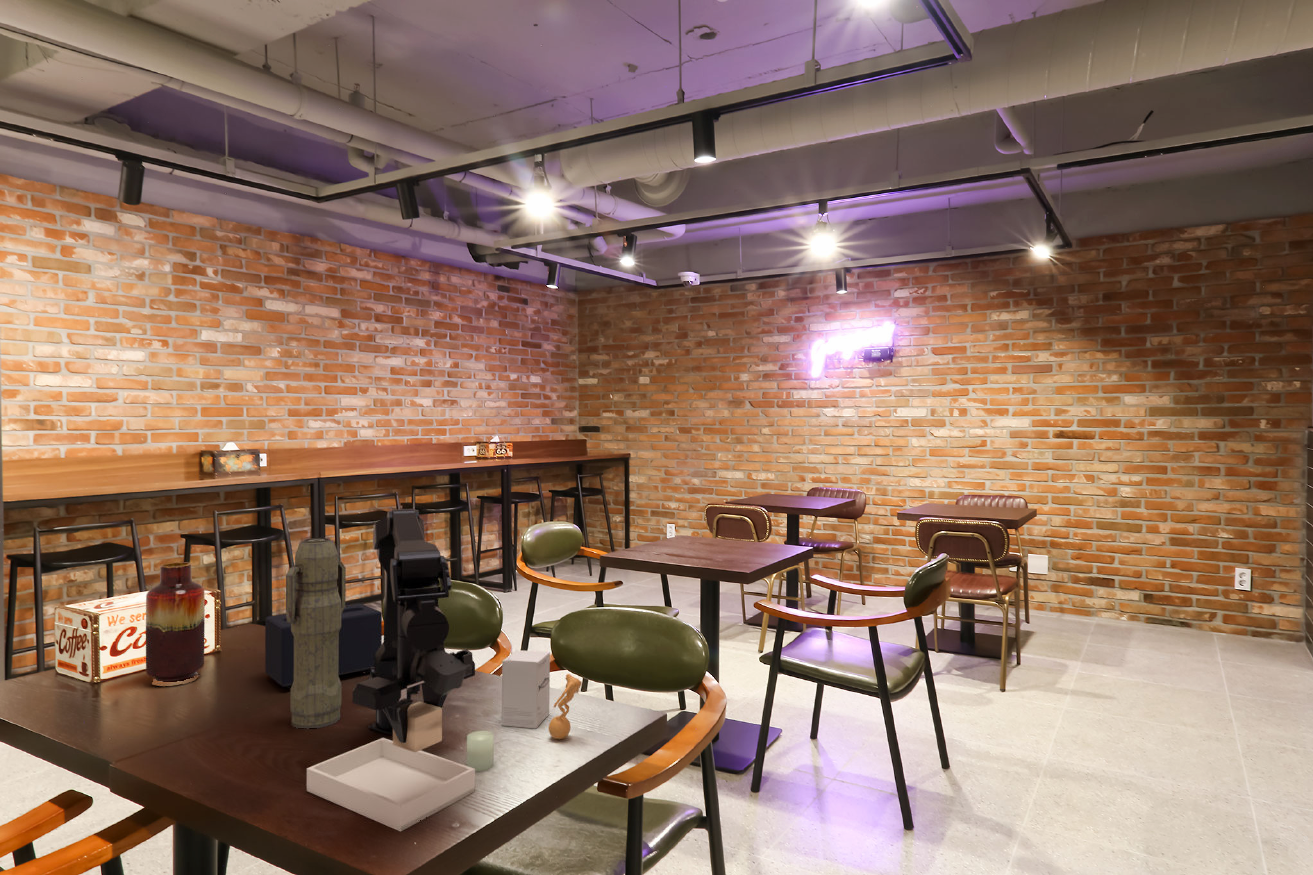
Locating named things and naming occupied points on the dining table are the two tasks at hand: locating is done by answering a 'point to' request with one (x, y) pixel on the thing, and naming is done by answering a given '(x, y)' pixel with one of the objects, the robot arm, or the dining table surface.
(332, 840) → the dining table surface
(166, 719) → the dining table surface
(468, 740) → the green cylinder
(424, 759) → the bin
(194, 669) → the vase
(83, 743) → the dining table surface
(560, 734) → the figurine
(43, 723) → the dining table surface
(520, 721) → the supplement box
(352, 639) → the speaker
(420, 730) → the beech cube
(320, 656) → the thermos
